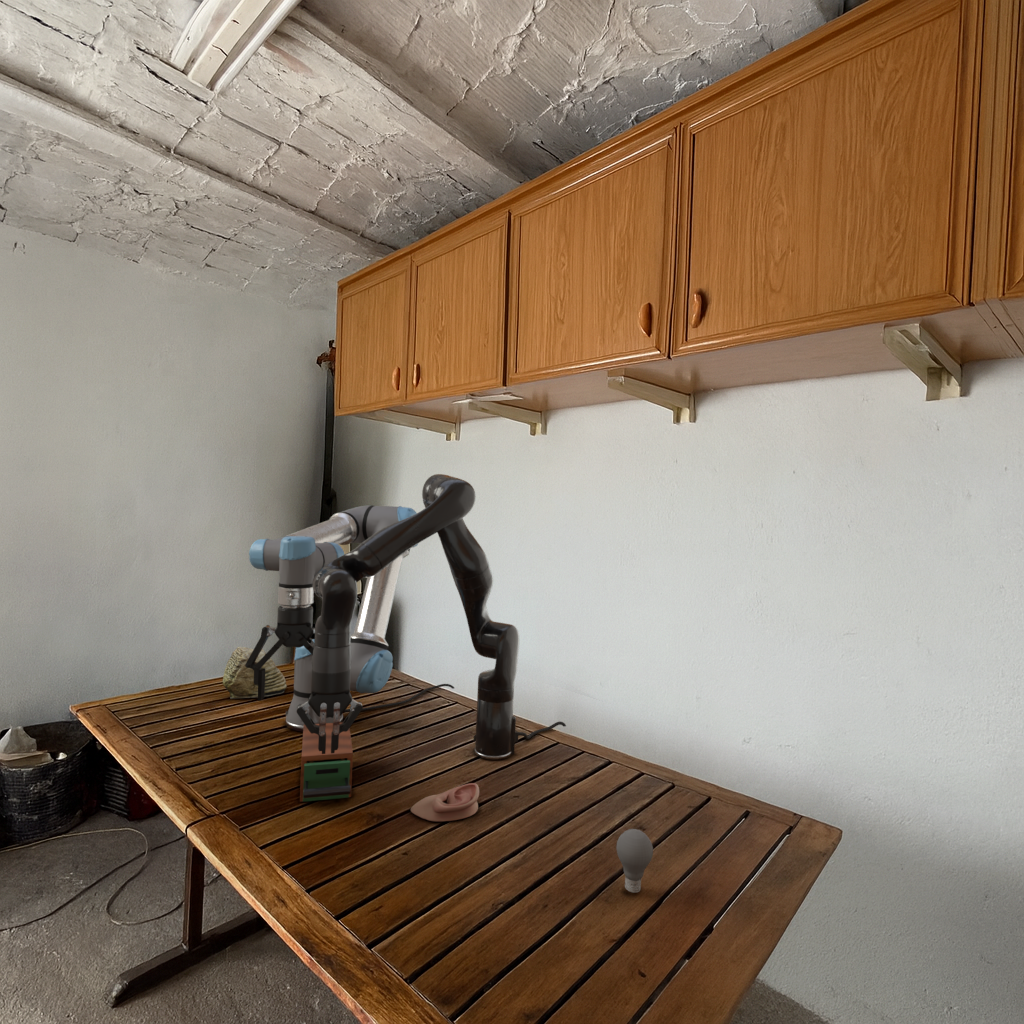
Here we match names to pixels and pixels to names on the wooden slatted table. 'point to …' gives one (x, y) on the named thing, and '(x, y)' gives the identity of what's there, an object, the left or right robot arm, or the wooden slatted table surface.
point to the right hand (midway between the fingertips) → (328, 751)
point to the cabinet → (313, 753)
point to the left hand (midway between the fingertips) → (292, 699)
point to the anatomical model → (449, 804)
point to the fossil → (251, 676)
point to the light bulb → (634, 857)
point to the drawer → (326, 779)
